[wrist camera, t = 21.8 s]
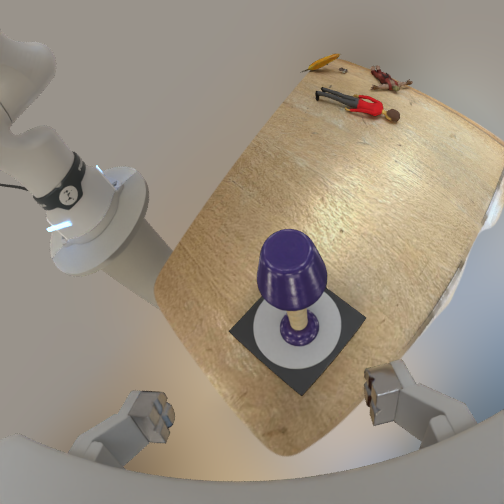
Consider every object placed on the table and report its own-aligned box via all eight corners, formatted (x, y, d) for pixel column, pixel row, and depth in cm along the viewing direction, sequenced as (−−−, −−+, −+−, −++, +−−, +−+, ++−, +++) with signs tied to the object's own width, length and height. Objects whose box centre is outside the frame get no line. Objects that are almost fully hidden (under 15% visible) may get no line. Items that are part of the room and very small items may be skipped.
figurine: (394, 63, 53) (418, 81, 47) (394, 72, 56) (417, 91, 50) (353, 68, 55) (375, 87, 49) (354, 78, 58) (375, 98, 52)
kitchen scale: (233, 335, 34) (225, 328, 31) (292, 271, 37) (290, 259, 34) (302, 395, 29) (301, 396, 26) (362, 324, 32) (367, 316, 29)
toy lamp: (274, 310, 31) (237, 228, 17) (315, 298, 31) (313, 206, 16) (285, 351, 29) (254, 304, 14) (327, 339, 28) (342, 279, 14)
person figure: (317, 107, 55) (395, 133, 47) (312, 97, 52) (396, 124, 44) (325, 90, 55) (402, 114, 47) (321, 80, 51) (403, 104, 43)
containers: (343, 74, 63) (344, 63, 61) (364, 76, 56) (365, 64, 55) (321, 69, 60) (322, 57, 58) (342, 70, 54) (343, 57, 52)
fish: (342, 50, 54) (334, 50, 51) (346, 57, 54) (339, 57, 52) (305, 67, 63) (296, 69, 61) (309, 74, 64) (300, 76, 61)
